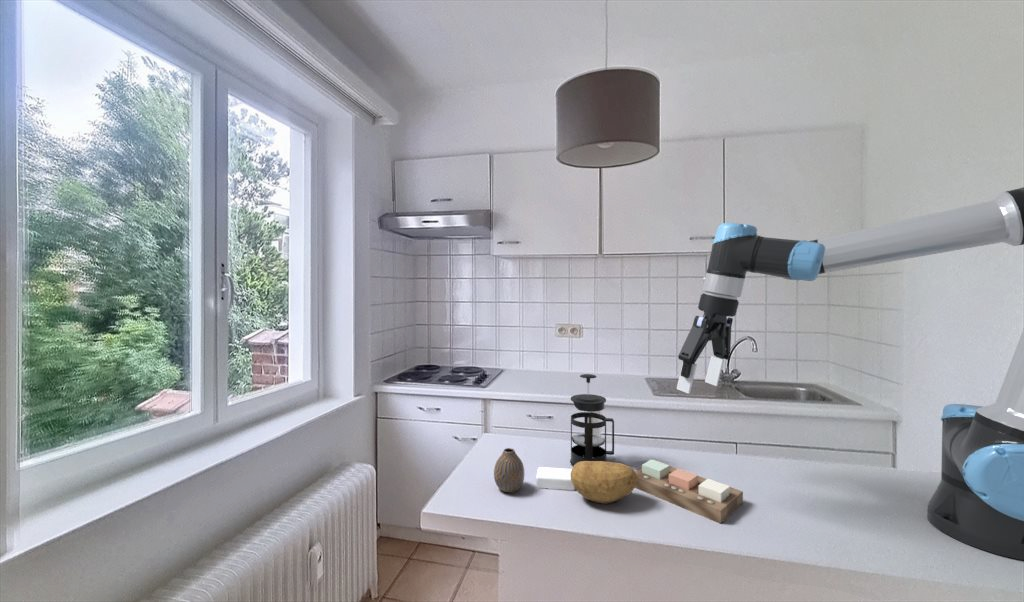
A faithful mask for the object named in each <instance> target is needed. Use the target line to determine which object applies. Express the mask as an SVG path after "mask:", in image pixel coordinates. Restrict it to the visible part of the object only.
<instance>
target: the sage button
mask: <svg viewBox="0 0 1024 602" xmlns="http://www.w3.org/2000/svg"><path fill="white" fill-rule="evenodd" d="M670 466H671V465H669V464H667V463H664V462H661V461H658V460H655V459H650V460H648V461H646V462H644V463H642V464H641V468H642V473H644V474H647V475H650V476H652V477H655V478H657V479H662V478H664V477H665V476H667V475H669V474H670Z"/></svg>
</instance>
